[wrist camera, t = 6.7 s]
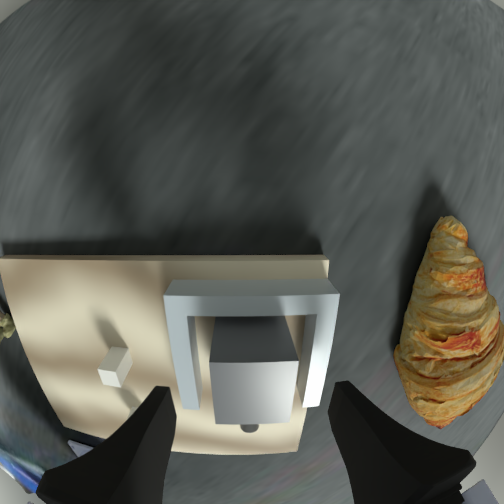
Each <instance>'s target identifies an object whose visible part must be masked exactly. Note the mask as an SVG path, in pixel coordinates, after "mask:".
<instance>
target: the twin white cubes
mask: <svg viewBox="0 0 504 504" xmlns="http://www.w3.org/2000/svg"><path fill="white" fill-rule="evenodd" d="M132 364H133V362H132V359H131V355H130V351H129V348H122V347H113V346H112V347H111V349H110V350H109V352H108V353H107V355H106V356H105V358H104V359H103V361H102V362H101V364H100V366H99V367H98V372H99V375H100V378H101V380H102V383H103V385H109V386H114V387H120V388H121V386H122V384H123V382H124V380H125V378H126V376H127V374H128V372H129V370H130V368H131V366H132ZM137 408H138V407H132V408H131V410H130V413H129V415H128V418H129V417H130V416H131V415H132V414H133V413H134V411H135V410H136V409H137ZM128 418H127V419H128Z"/></svg>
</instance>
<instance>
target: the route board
mask: <svg viewBox="0 0 504 504" xmlns="http://www.w3.org/2000/svg"><path fill="white" fill-rule="evenodd" d="M328 267H329V260H328V259H327V258H326V257H325V256H324V255H4V256H2V257H0V273H1V278H2V282H3V286H4V290H5V294H6V297H7V301H8V304H9V308H10V311H11V314H12V317H13V320H14V323H15V326H16V329H17V332H18V335H19V337H20V340H21V343H22V345H23V348H24V350H25V353H26V355H27V357H28V360H29V362H30V364H31V366H32V369H33V371H34V373H35V375H36V377H37V379H38V381H39V383H40V385H41V387H42V389H43V391H44V393H45V395H46V397H47V399H48V400H49V402H50V404H51V406H52V407H53V409H54V411H55V413H56V414H57V416H58V418H59V419H60V421H61V422H62V424H63V426H64V427H67V428H70V429H73V430H77V431H80V432H83V433H86V434H90V435H93V436H97V437H101V438H105V439H107V438H108V437H109V436H110V435H112V434H113V433H114V432H115V431H116V430H117V429H118V428H119V427H120V426H121V425H122V424H123V423H124V422H125V421H126V420H127V418H128V415H129V413H130V410H131V408H132V407H139V406H140V405H141V403H142V402H143V401H144V400H145V399H146V397H147V396H148V395H149V393H150V392H151V391H152V390H153V388H154V387H155V386H156V385H157V386H168V387H170V390H171V394H172V399H173V403H174V407H175V410H176V414H177V421H176V430H175V437H174V441H173V445H172V449H171V451H177V452H188V453H201V454H224V455H248V454H271V453H285V452H295V451H297V449H298V445H299V441H300V437H301V433H302V428H303V424H304V420H305V415H306V410H307V407H304V408H302V404H301V400H300V397H299V393H298V389H297V381H298V374H299V367H300V359H301V352H302V344H303V335H304V326H305V317H306V315H285V318H286V321H287V324H288V327H289V331H290V334H291V337H292V340H293V343H294V346H295V350H296V353H297V356H298V359H299V365H298V372H297V379H296V385H295V392H294V398H293V404H292V410H291V416H290V422H288V423H273V424H259V428H258V430H257V431H255V432H253V433H246V432H244V431H242V430H241V428H240V425H229V424H215V416H214V407H213V398H212V389H211V379H210V369H209V358H210V351H211V344H212V337H213V331H214V324H215V317H216V316H195V325H196V335H197V345H198V354H199V362H200V370H201V378H202V386H203V390H202V397H201V404H200V410H190V409H183V407H182V402H181V398H180V393H179V389H178V384H177V379H176V374H175V368H174V363H173V358H172V352H171V346H170V340H169V333H168V327H167V320H166V313H165V305H164V297H163V295H164V293H165V292H166V290H167V288H168V287H169V285H170V283H171V282H172V280H173V279H175V280H277V279H326V278H327V277H328ZM112 346H113V347H122V348H129V351H130V355H131V359H132V362H133V364H132V366H131V368H130V370H129V372H128V374H127V376H126V378H125V380H124V382H123V384H122V386H121V388H120V387H114V386H109V385H103V383H102V380H101V378H100V375H99V372H98V367H99V366H100V364H101V362H102V361H103V359H104V358H105V356H106V355H107V353H108V352H109V350H110V349H111V347H112Z"/></svg>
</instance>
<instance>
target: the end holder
mask: <svg viewBox="0 0 504 504" xmlns="http://www.w3.org/2000/svg"><path fill="white" fill-rule="evenodd" d="M339 296H340V293H339V292H338V291H337V290H336V288H335V287H334V286H333V285H332V284H331V282H330V281H329V280H328V279H327V278H326V279H277V280H175V279H173V280H172V282H171V283H170V285H169V287H168V288H167V290H166V292H165V293H164V295H163V297H164V305H165V313H166V320H167V327H168V333H169V340H170V346H171V352H172V358H173V363H174V368H175V374H176V379H177V384H178V389H179V393H180V398H181V402H182V407H183V409H190V410H200V404H201V397H202V390H203V386H202V378H201V370H200V362H199V354H198V345H197V335H196V325H195V316H285V315H306V317H305V326H304V335H303V344H302V352H301V359H300V367H299V374H298V381H297V389H298V393H299V397H300V400H301V404H302V408H304V407H313V406H319V402H320V398H321V394H322V389H323V385H324V381H325V376H326V371H327V366H328V362H329V357H330V351H331V346H332V341H333V335H334V329H335V323H336V317H337V310H338V303H339Z"/></svg>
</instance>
